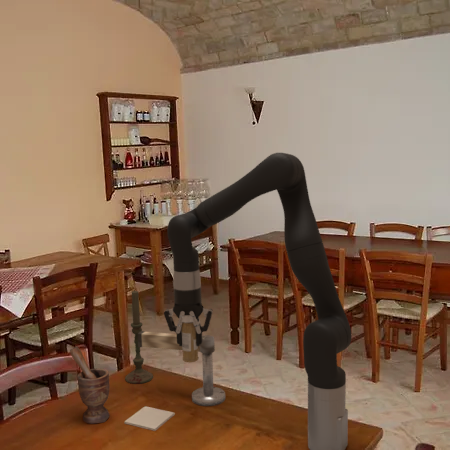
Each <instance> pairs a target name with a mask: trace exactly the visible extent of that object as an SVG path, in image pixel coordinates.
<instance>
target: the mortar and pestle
mask: <svg viewBox="0 0 450 450" xmlns="http://www.w3.org/2000/svg"><path fill="white" fill-rule="evenodd" d="M69 352H70V356H71V357H72V358H73V360H74V362H75V363H76V365H78V367H79V368H80V370H81V372H79V373H78V374H77V376H76V377H77V384H78V393H79V396H80V400H81V402H82V404H84V406H86V410H85V411H84V413H83V414H82V415H83V416H82V421H83V422H84V423H87V424H98V423H105V422H106V421H107V420H108V419H109V418H110V412H109V410H108V409H107V408H106V407H105V406H104V405H105V403H106V402H107V401H108V399H109V393H110V373H109V371H108V370H107V369H106V368H89V366H88V364H87V362H86V359H85V357H84V355H83V353H82V350H81V349H80V347H78V346H74V347H73V348H71V349H70V350H69Z"/></svg>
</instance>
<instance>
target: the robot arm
mask: <svg viewBox="0 0 450 450" xmlns="http://www.w3.org/2000/svg"><path fill="white" fill-rule="evenodd" d="M305 171H306V170H305V168H304V165H303V163H302V162H301V160H300V159H299V157H297V156H296V155H294V154H289V153H285V152H275V153H271V154H270V155H268V156H267V157H266V158H264V159H263V160H262V161H260V163H258V164H257V165H256V166H255V167H254V168H253V169H251V170H250V171H249V172H247V173H246V174H245V175H243V176H242V177H241V178H239V179H238V180H237V181H235V182H234V183H232V184H231V185H228V186H227V187H225V188H223V189H222V190H220V191H218V192H216V193H215V194H213V195H211V196H209V197H208V198H206V199H204V200H203V201H201V202H200V203H199V204H197V206H196V207H195V208H193V209H191V210H188V211H186V212H185V213H182V214H178V215H175V216H172V218H171V219H170V220H169V221H168V223H167V229H166V230H167V238H168V242H169V247H170V250H171V253H172V256H173V257H172V259H173V260H172V261H173V278H172V279H173V280H172V286H173V296H174V297H173V301H174V305H173V307H172V308H166V309H165V310H164V312H163V315H164V318H165V321H166V324H167V326H168V329H169V331H170V332H174V333H175V334H177V344H179V346H182V323H183V322H182V317H184V315H190V316H191V317H193V324H194V326H195V328H196V331H197V333H196V340H197V346H200V344H201V343H202V341H203V340H202V336H203V333H205V332H207V331H208V329H209V327H210V323H211V320H212V315H213V312H214V311H213V309H212V308H209V309H208V308H204V305H203V304H202V283H201V279H202V278H201V273H200V271H201V270H200V255H199V251H198V250H197V248H194V247H193V243H192V242H193V241H192V238H195V237H196V236H197V237H198V236H199V235H200V234H203V232H205V231H207V230H208V229H209V228H211V227H213V226H215V225H217V224H219V223H220V222H222V221H224V220H226V219H228V218H229V217H232V216H233V215H235V214H236V213H237V212H239V210H241V209H242V208H243V207H245V206H246V205H247V204H248V203H249V202H251V201H252V200H254V199H256V198H258V197H260V196H262V195H265V194H268V193H270V192H273V191H276V192H277V194H278V196H279V199H280V203H281V205H282V210H283V216H284V217H283V218H284V228H283V229H284V231H283V233H284V234H283V235H284V237H283V238H284V245H285V251H286V255H287V259H288V262H289V265H290V268H291V271H292V272H293V274H294V276H295V278H296V279H297V280H298V282H299V283H300V284H301V285H302V287H304V289H305V290H306V291H307V292H308V294H309V295H310V298H311V299H312V301H313V305H314V307H315V311H316V315H317V320H314V321H312V322H310V323H309V324H308V325H307V326H306V327H305V328H304V333H303V339H302V342H303V345H302V347H303V362H304V363H303V366H304V369H305V373H306V375H307V447H308V449H309V450H346V448H347V447H348V445H349V444H348V442H349V441H348V440H349V439H348V436H349V434H348V432H349V430H348V429H349V425H348V424H349V423H348V422H349V421H348V419H349V418H348V417H349V416H348V415H349V411H348V409H347V408H346V404H347V403H346V400H347V398H346V390H347V388H346V387H347V386H346V385H347V383H346V382H347V381H346V378H347V377H346V371H345V369H344V368H342V367H340V366H338V359H337V357H338V356H337V355H338V354H340V353H341V352H343V351H345V350H346V349H347V348H348V347H349V346H350V345H351V343H352V339H353V337H352V336H353V335H352V329H351V325H350V321H349V319H348V317H347V315H346V312H345V309H344V308H343V305H342V302H341V299H340V297H339V294H338V292H337V289H336V286H335V281H334V278H333V275H332V271H331V268H330V265H329V260H328V257H327V253H326V250H325V245H324V242H323V239H322V236H321V233H320V229H319V226H318V223H317V219H316V216H315V213H314V210H313V207H312V204H311V201H310V195H309V189H308V184H307V177H306V172H305ZM202 313H203V317H205V321H204V323H203V325H202V324H201V320H200V316H201V315H202ZM174 315H175V316H176V317H177V318H178V321H177V325H176V323H175V321H174V319H173V316H174Z"/></svg>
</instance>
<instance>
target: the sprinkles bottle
mask: <svg viewBox="0 0 450 450" xmlns="http://www.w3.org/2000/svg"><path fill="white" fill-rule="evenodd" d="M182 322H183V323H182V349H183V350H182V361H183V362H185V363H195V362H198V360H199V352H198V346H197V340H196V333H197V331H196V328H195V326H194V324H193V317H191V316H190V315H184V317H182Z"/></svg>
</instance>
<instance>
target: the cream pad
mask: <svg viewBox="0 0 450 450" xmlns="http://www.w3.org/2000/svg"><path fill="white" fill-rule="evenodd" d="M175 414H176V413H175V412H173V411H168V410H164V409H159V408H156V407H155V408H154V407H151V406H150V407H149V406H146V405H145V406H144V407H142V408H141V409H139V410H138V411H136V412H135V413H134V414H133V415H131V416H130V417H128V418H127V419H126V420H124V424H125V425H130V426H134V427H138V428H140V429H141V428H142V429H146V430H149V431H154V432H156V431H157V430H158V429H159V428H161V427H162V426H164V424H165V423H166V422H168V421H169V420H170V419H171V418H173V417H174V416H175Z"/></svg>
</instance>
